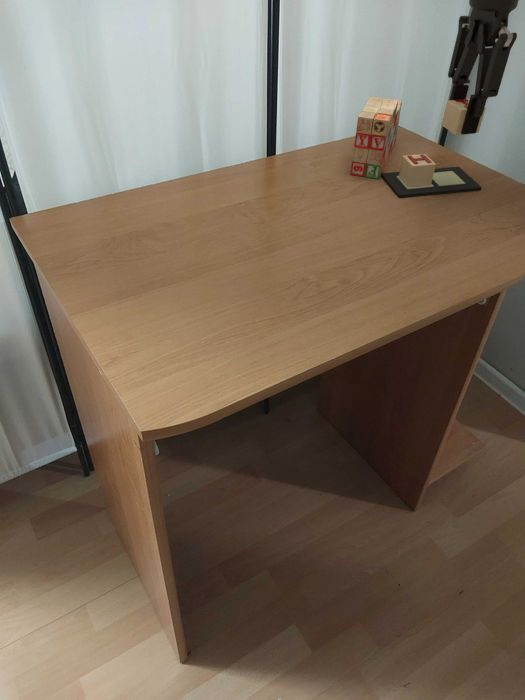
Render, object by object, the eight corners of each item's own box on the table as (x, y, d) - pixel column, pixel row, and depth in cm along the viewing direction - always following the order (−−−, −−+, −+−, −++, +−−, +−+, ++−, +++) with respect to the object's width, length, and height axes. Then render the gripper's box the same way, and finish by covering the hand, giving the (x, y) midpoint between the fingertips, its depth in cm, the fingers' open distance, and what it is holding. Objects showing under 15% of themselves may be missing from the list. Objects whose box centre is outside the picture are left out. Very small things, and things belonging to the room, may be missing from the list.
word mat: (481, 190, 109) (482, 186, 109) (398, 198, 107) (399, 194, 106) (458, 168, 117) (458, 165, 116) (380, 175, 114) (380, 172, 113)
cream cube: (431, 185, 109) (436, 163, 106) (408, 187, 108) (412, 165, 105) (420, 174, 113) (425, 152, 110) (398, 176, 112) (402, 154, 109)
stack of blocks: (369, 137, 128) (378, 82, 120) (395, 141, 127) (406, 86, 119) (349, 174, 114) (357, 115, 105) (379, 179, 112) (389, 119, 104)
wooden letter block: (478, 132, 100) (486, 106, 97) (454, 135, 99) (461, 108, 96) (464, 122, 103) (471, 97, 100) (441, 125, 102) (447, 99, 99)
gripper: (449, -30, 90) (419, 112, 106) (512, -9, 78) (468, 148, 94) (488, -32, 92) (453, 109, 108) (556, -11, 79) (505, 144, 95)
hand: (460, 127), depth 101 cm, fingers closed on wooden letter block, 5 cm apart
